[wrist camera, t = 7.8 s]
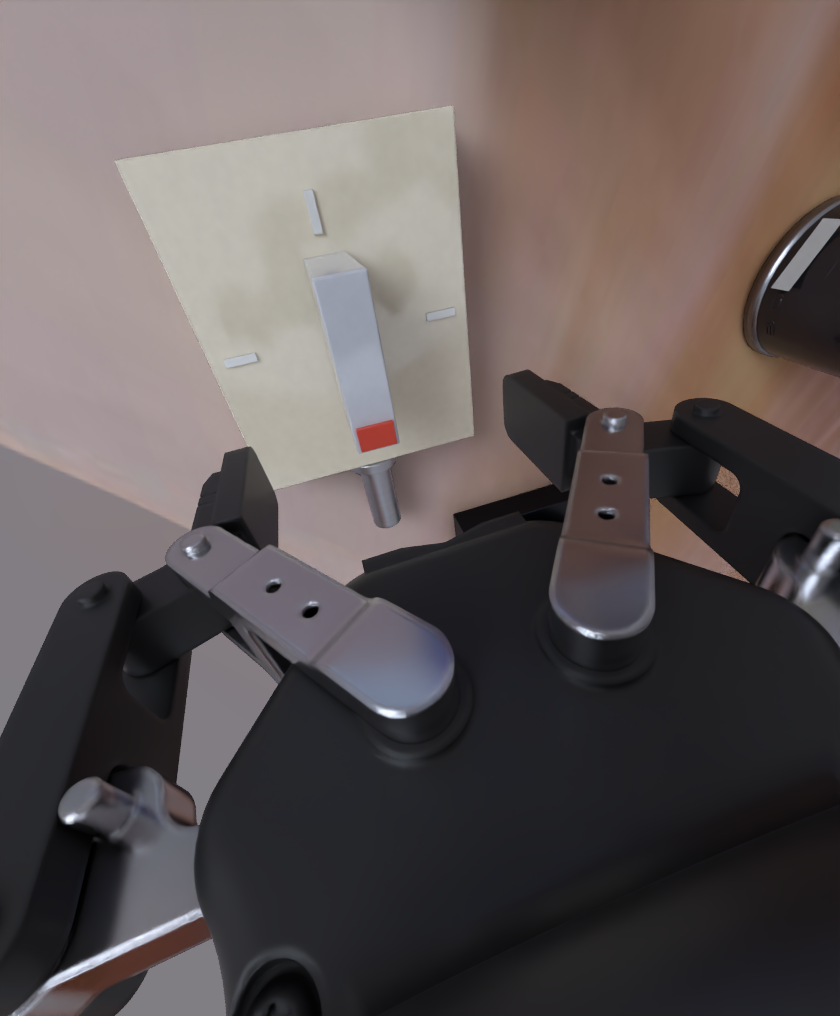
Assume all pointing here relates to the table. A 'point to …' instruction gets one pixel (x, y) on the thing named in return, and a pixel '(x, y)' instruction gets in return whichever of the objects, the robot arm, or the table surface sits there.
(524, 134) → the table surface
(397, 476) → the table surface
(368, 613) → the robot arm
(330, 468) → the block
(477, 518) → the button housing
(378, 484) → the spout
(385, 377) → the pale grey rectangular block
